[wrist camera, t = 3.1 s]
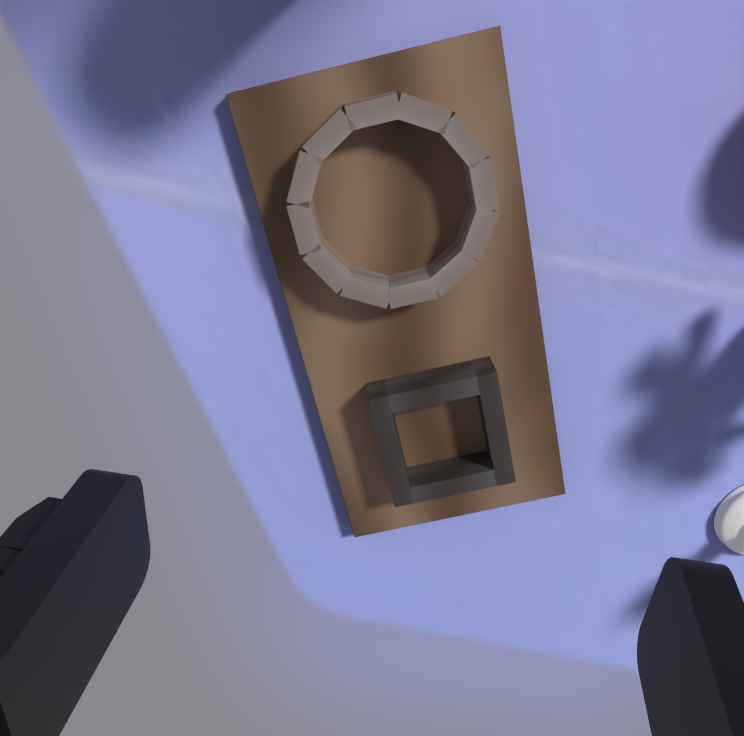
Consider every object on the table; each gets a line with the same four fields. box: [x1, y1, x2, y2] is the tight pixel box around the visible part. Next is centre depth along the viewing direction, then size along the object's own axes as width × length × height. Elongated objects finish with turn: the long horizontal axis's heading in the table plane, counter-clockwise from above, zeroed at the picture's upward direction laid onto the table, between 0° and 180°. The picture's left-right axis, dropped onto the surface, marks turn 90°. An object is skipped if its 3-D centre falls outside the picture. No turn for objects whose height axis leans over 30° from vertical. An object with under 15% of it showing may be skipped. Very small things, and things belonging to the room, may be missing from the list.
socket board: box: [226, 26, 565, 537], centre depth 34 cm, size 12×24×3 cm, turn 13°
